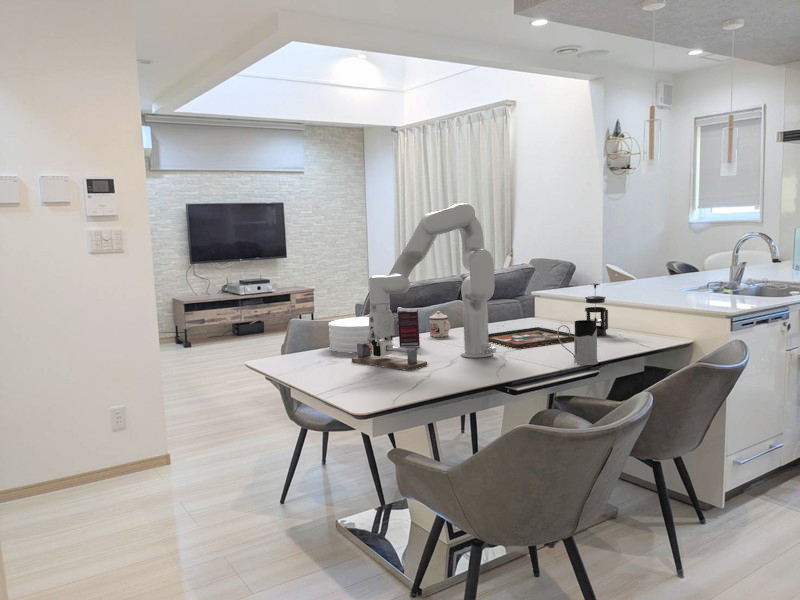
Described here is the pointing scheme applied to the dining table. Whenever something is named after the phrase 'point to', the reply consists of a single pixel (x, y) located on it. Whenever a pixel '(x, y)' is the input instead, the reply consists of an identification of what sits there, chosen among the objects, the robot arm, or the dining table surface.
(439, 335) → the teacup with lid
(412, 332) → the supplement box
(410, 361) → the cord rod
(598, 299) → the french press
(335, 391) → the dining table surface
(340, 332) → the plate stack
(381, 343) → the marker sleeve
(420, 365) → the base board
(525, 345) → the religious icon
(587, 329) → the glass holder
